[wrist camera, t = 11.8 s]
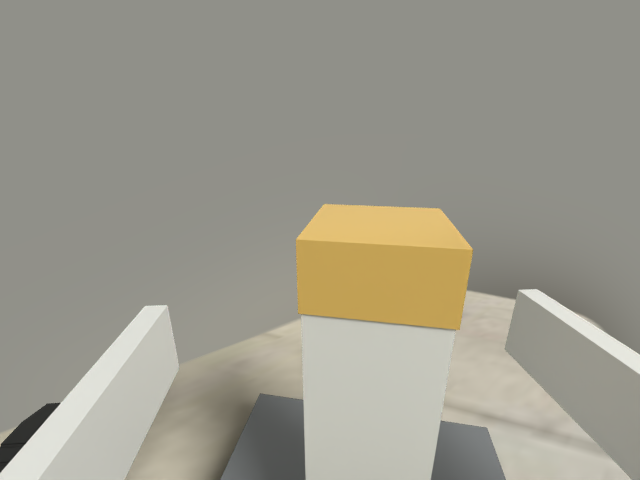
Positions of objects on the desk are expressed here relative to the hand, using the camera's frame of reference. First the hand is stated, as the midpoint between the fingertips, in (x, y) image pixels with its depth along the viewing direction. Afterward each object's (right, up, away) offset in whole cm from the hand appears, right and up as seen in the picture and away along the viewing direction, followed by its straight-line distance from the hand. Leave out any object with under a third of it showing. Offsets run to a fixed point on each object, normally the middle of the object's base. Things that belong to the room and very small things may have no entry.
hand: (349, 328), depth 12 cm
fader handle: (0, -7, -1) cm, 7 cm away
